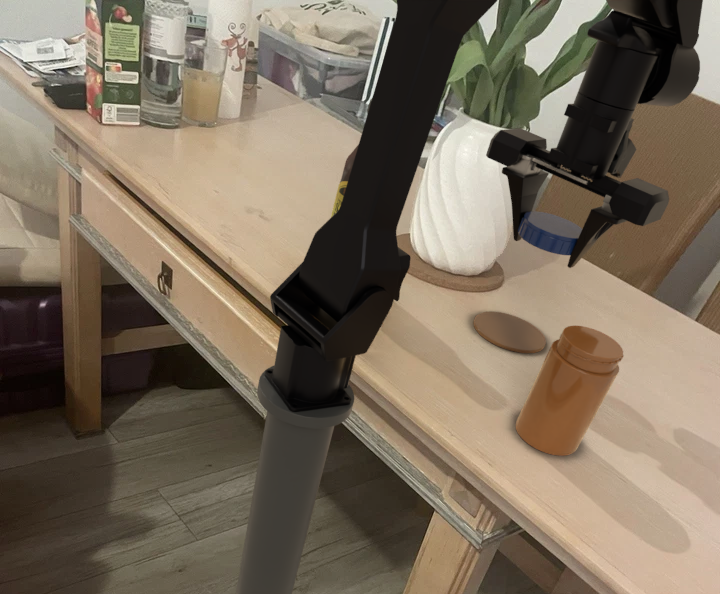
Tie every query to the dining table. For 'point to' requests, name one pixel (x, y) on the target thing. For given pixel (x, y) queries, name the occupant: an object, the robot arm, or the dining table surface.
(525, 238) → the lid
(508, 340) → the coaster
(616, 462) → the dining table surface
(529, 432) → the jar
